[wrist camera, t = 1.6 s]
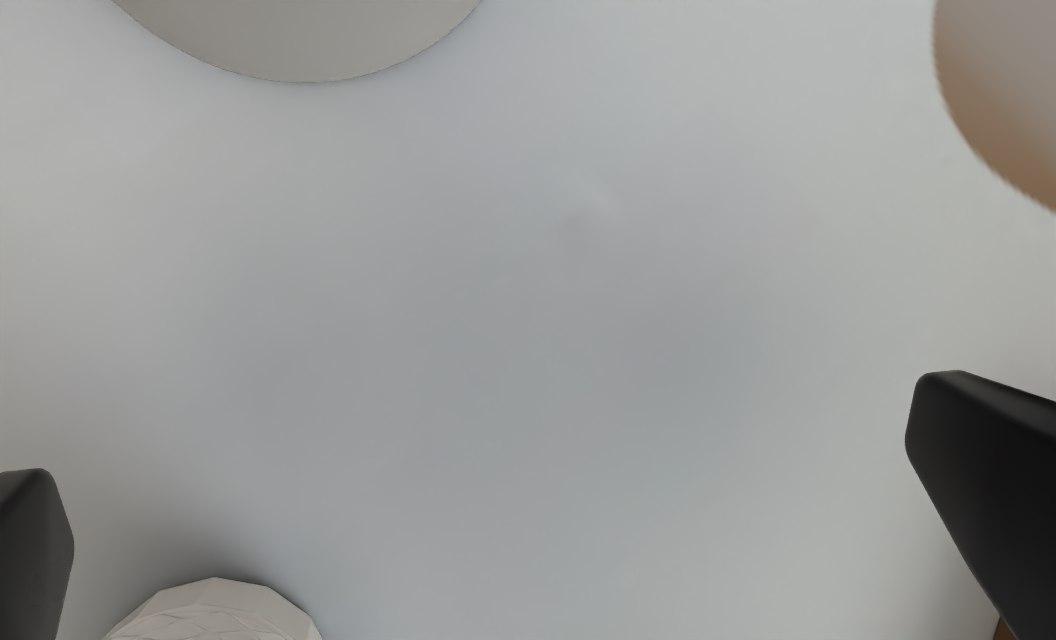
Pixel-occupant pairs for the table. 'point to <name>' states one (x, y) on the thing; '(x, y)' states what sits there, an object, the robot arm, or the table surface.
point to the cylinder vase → (300, 33)
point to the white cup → (216, 614)
